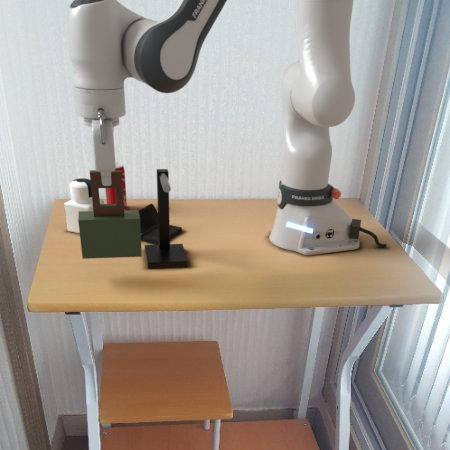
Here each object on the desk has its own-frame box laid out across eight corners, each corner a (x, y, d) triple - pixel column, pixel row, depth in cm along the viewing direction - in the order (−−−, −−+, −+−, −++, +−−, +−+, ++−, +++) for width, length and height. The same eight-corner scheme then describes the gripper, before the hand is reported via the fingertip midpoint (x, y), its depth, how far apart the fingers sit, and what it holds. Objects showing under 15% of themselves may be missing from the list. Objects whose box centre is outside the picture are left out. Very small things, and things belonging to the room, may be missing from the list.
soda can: (128, 212, 158) (125, 166, 151) (107, 213, 157) (103, 167, 150) (126, 205, 163) (123, 160, 156) (106, 206, 162) (102, 161, 154)
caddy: (140, 247, 125) (136, 167, 115) (141, 256, 121) (138, 174, 111) (82, 249, 123) (73, 167, 113) (82, 258, 119) (73, 175, 109)
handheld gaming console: (168, 239, 140) (145, 201, 137) (146, 254, 143) (123, 217, 141) (185, 229, 150) (164, 194, 147) (164, 243, 153) (143, 209, 151)
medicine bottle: (82, 222, 151) (77, 174, 144) (106, 226, 150) (102, 178, 142) (67, 231, 146) (60, 182, 139) (91, 236, 144) (86, 187, 137)
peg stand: (182, 249, 140) (182, 167, 128) (188, 269, 131) (188, 183, 120) (144, 250, 138) (140, 167, 127) (148, 271, 130) (144, 183, 118)
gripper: (120, 116, 97) (125, 199, 105) (116, 93, 113) (121, 167, 121) (81, 116, 96) (89, 200, 104) (83, 92, 112) (90, 167, 120)
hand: (106, 182), depth 113 cm, fingers closed on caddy
